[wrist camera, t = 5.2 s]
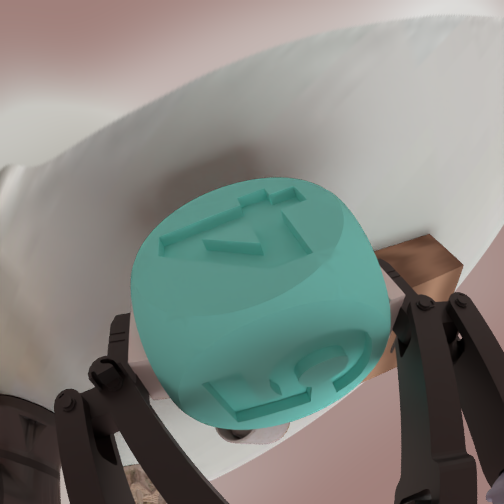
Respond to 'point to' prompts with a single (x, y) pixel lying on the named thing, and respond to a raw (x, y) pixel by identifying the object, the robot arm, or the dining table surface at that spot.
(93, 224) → the dining table surface
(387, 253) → the walnut block
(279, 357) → the decorative dice
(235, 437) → the ceramic mug
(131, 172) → the dining table surface
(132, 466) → the ceramic cottage
